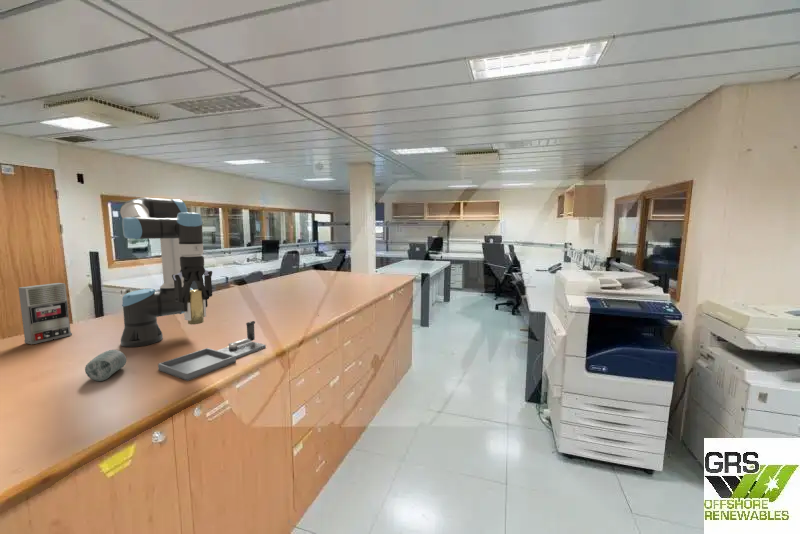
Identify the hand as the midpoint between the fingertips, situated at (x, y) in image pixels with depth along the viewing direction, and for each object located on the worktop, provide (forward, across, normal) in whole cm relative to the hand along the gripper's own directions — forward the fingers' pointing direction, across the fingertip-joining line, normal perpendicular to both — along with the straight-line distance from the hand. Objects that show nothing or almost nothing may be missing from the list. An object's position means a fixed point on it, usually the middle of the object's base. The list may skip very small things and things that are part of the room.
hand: (195, 317), depth 124 cm
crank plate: (+19, +18, 0) cm, 26 cm away
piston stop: (+2, 0, 0) cm, 2 cm away
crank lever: (+17, +21, +2) cm, 27 cm away
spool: (+19, -20, +20) cm, 34 cm away
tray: (+19, 0, 0) cm, 19 cm away
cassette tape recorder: (+19, -15, +87) cm, 90 cm away
